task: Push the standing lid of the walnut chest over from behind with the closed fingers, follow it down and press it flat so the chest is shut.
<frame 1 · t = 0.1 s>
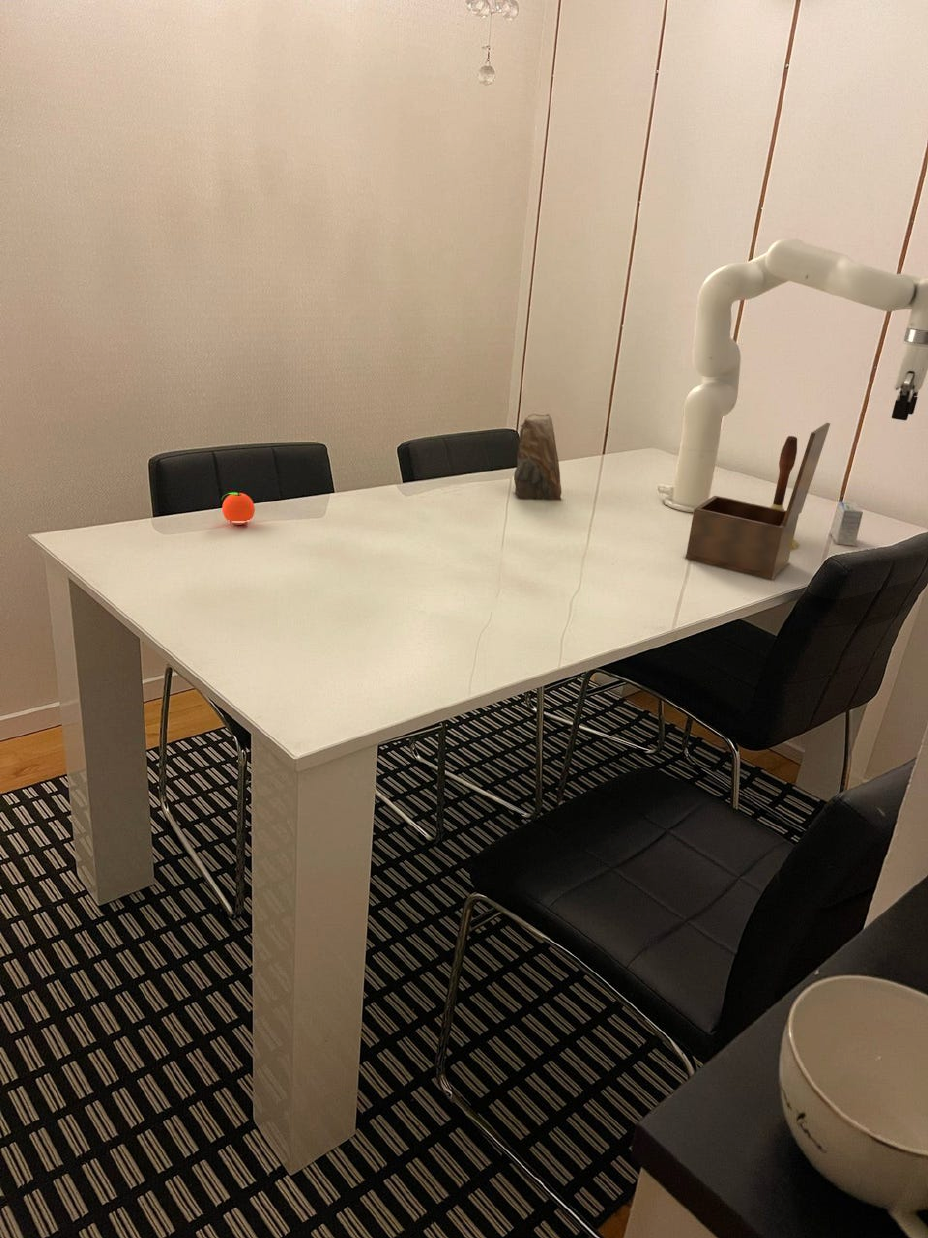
hand: (902, 416, 212), 31 cm above the table, tool pointing down, fingers open, 9 cm apart
chest: (737, 560, 207), on the table
brown rock: (536, 495, 244), on the table
medicine box: (842, 541, 227), on the table
clementine: (237, 524, 206), on the table
handbell: (769, 541, 222), on the table
lid: (806, 474, 194), point 22 cm above the table, hinge at 95.0°
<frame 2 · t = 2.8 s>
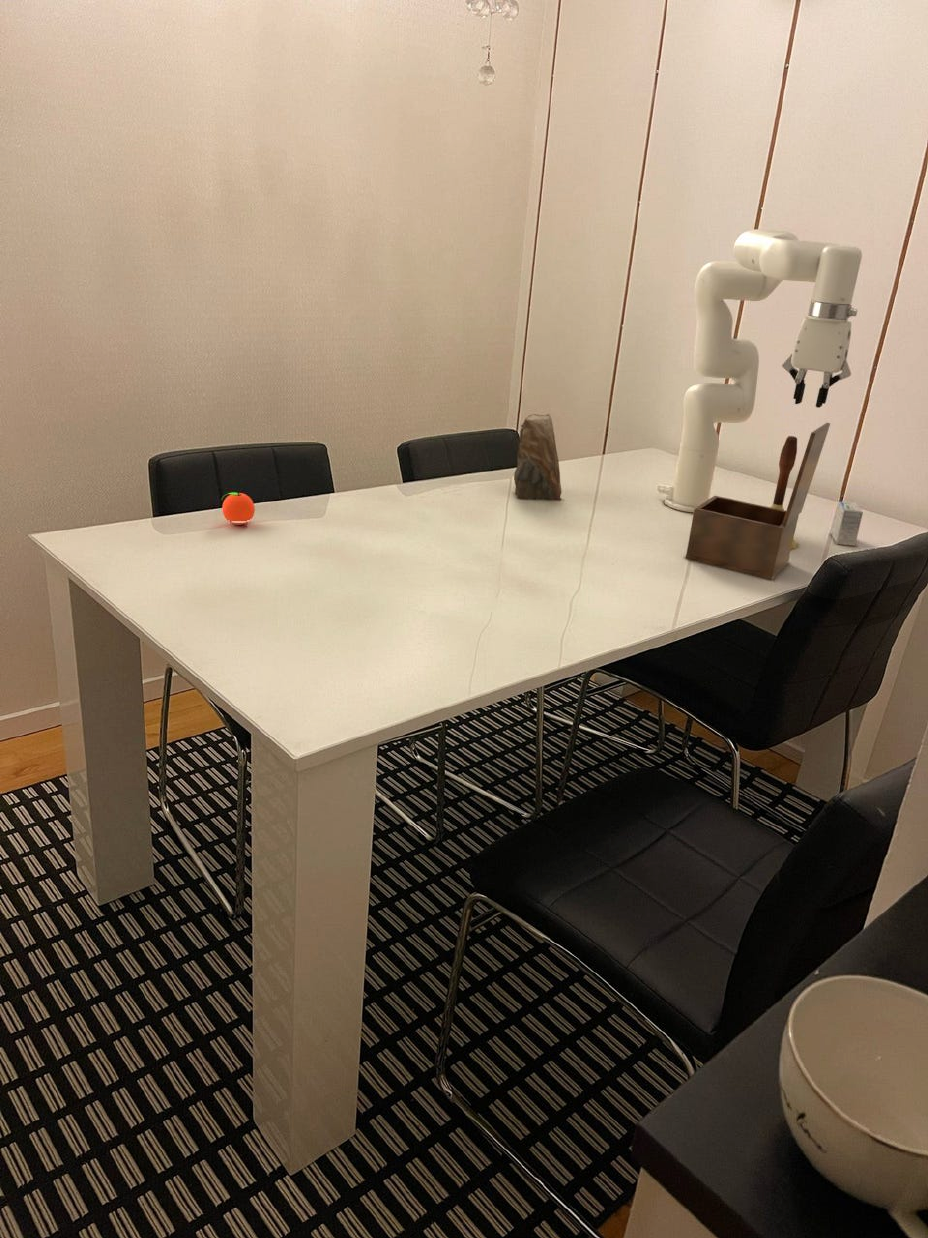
hand: (808, 404, 193), 35 cm above the table, tool pointing down, fingers open, 3 cm apart
nothing on the table moved.
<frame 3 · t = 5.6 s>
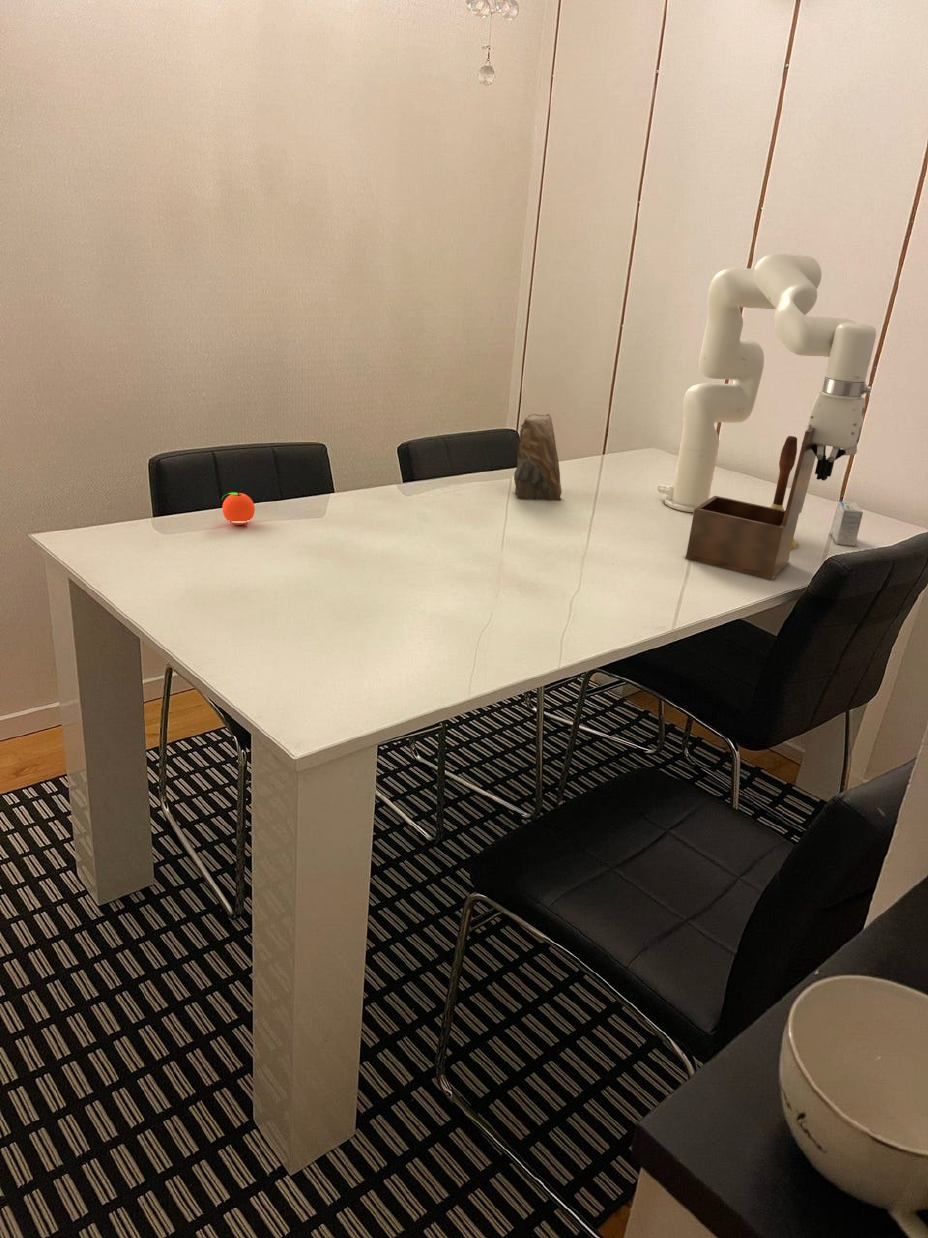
hand: (821, 478, 192), 22 cm above the table, tool pointing down, fingers closed
lid: (803, 473, 194), point 22 cm above the table, hinge at 91.6°
everything else where it was.
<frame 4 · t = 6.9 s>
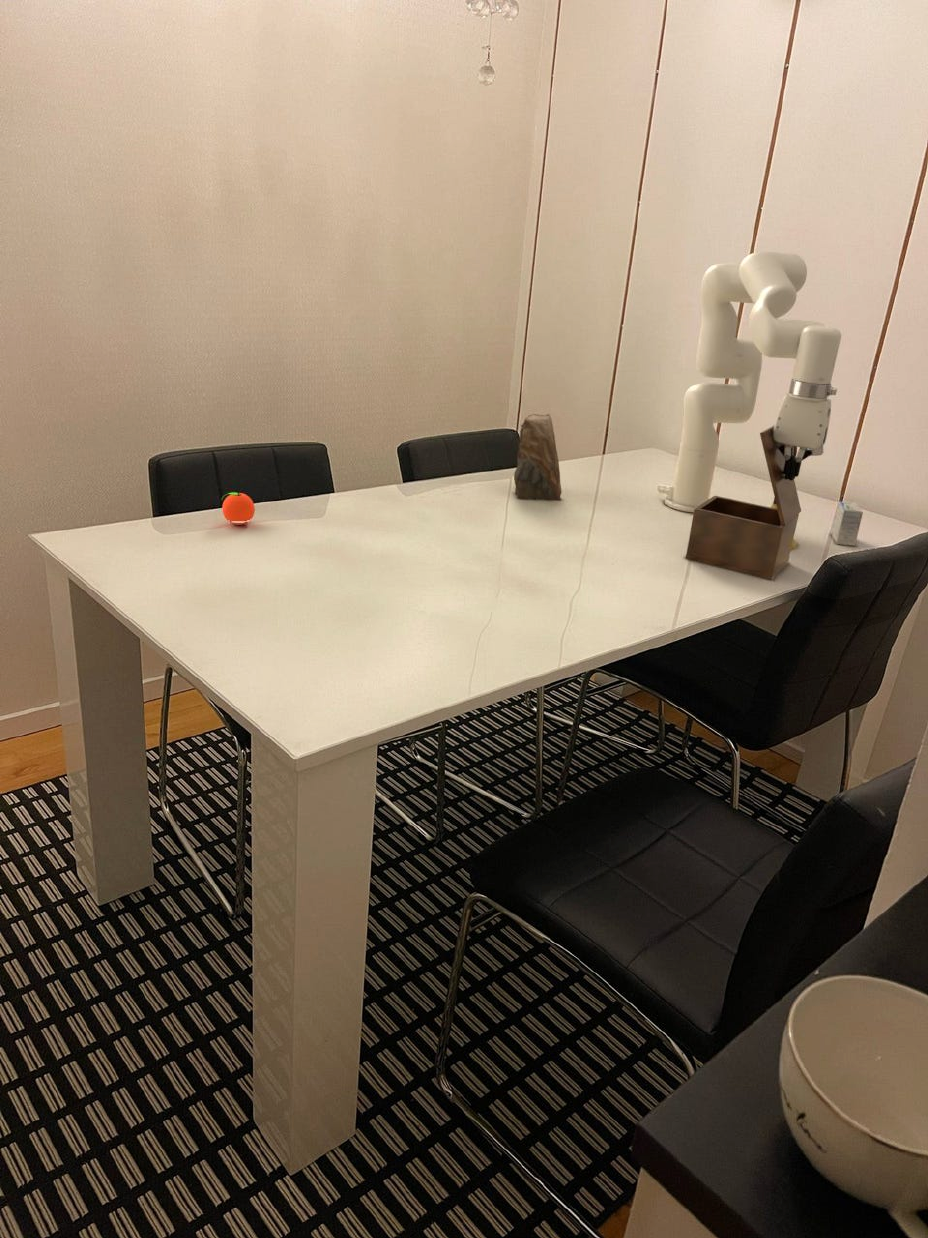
hand: (789, 478, 196), 20 cm above the table, tool pointing down, fingers closed
lid: (781, 473, 196), point 21 cm above the table, hinge at 65.5°, touching gripper
everything else where it was.
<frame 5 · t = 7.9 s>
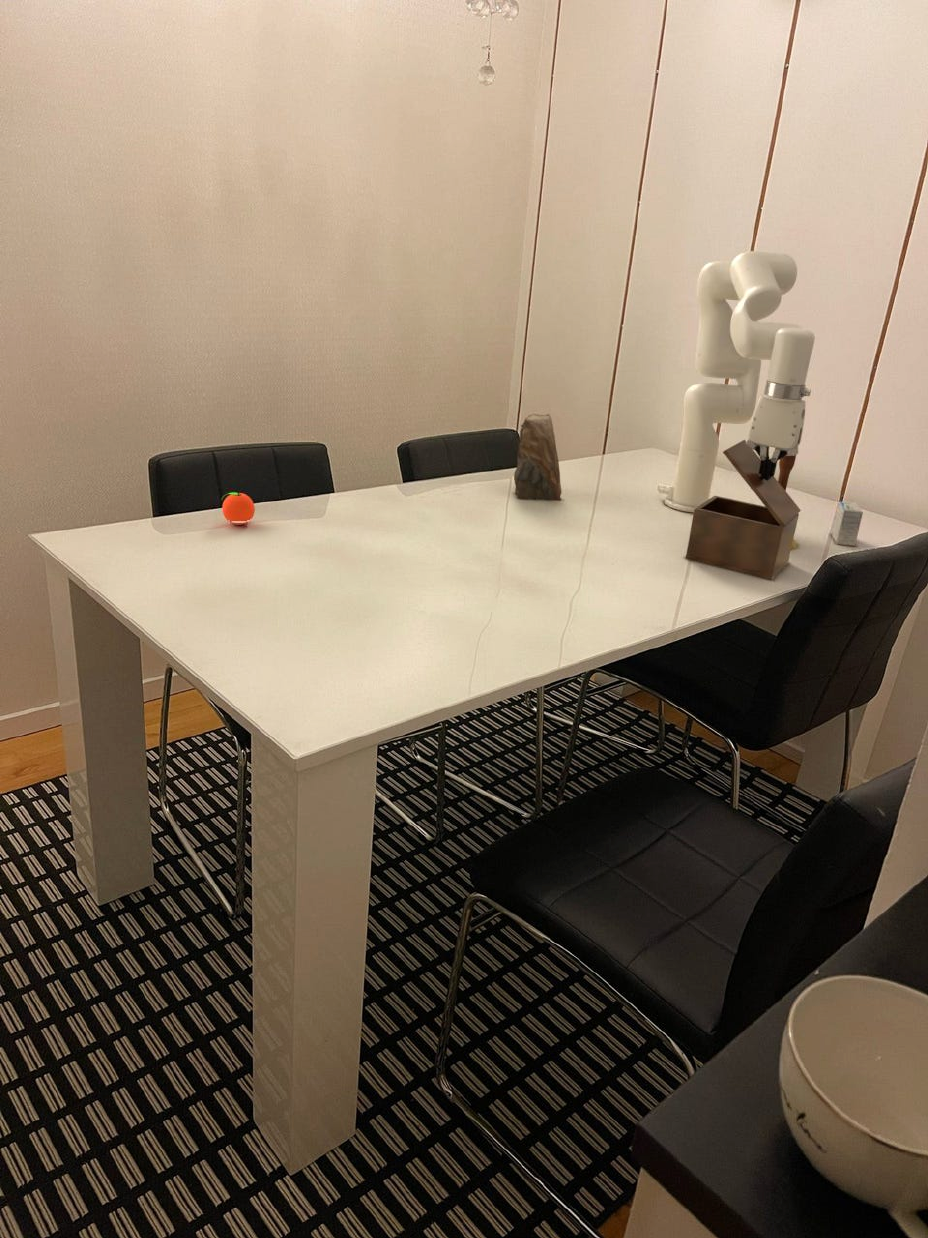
hand: (765, 478, 199), 19 cm above the table, tool pointing down, fingers closed
lid: (762, 482, 199), point 18 cm above the table, hinge at 40.6°, touching gripper
everything else where it was.
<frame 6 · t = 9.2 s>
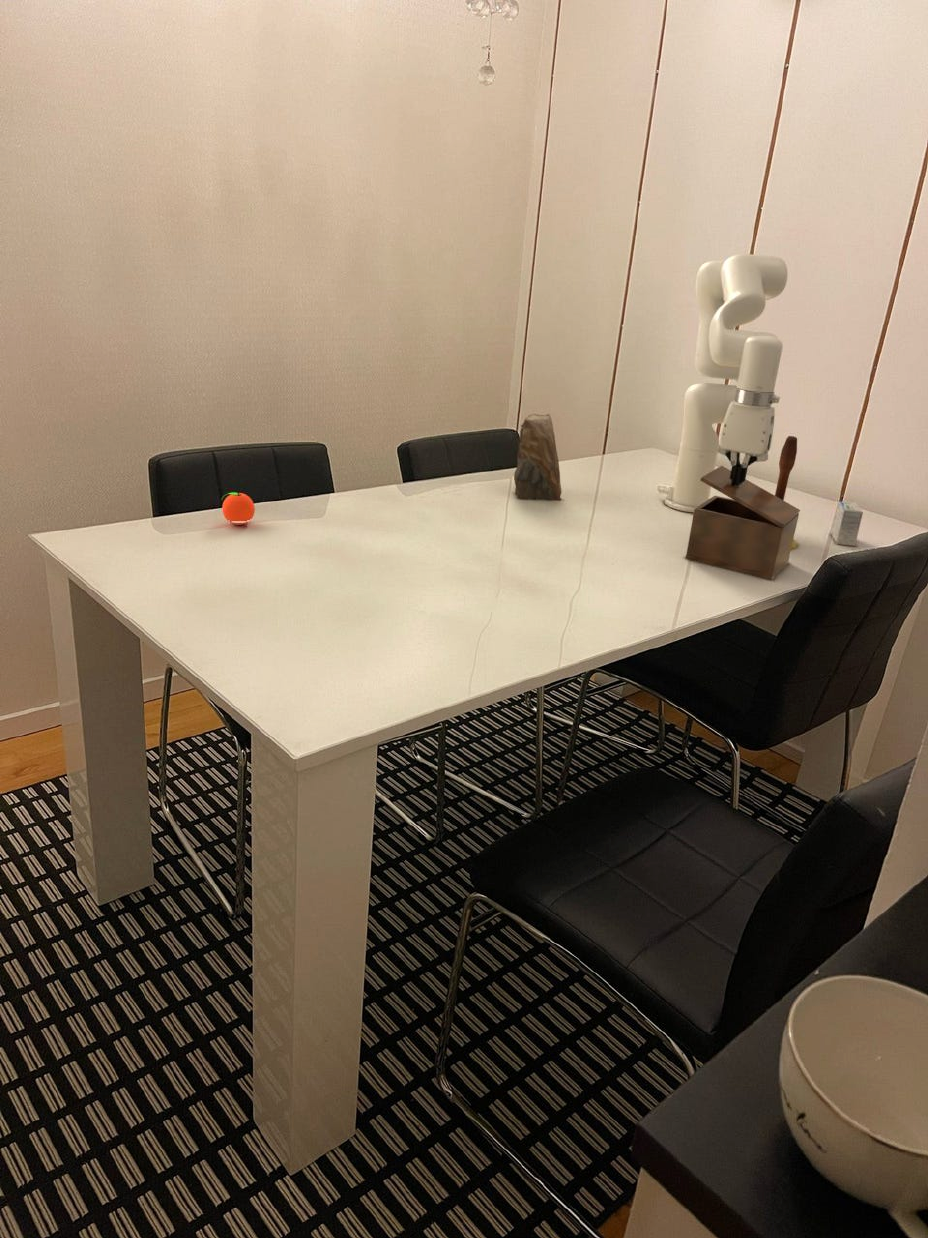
hand: (736, 483, 202), 17 cm above the table, tool pointing down, fingers closed
lid: (750, 495, 201), point 15 cm above the table, hinge at 18.2°
everything else where it was.
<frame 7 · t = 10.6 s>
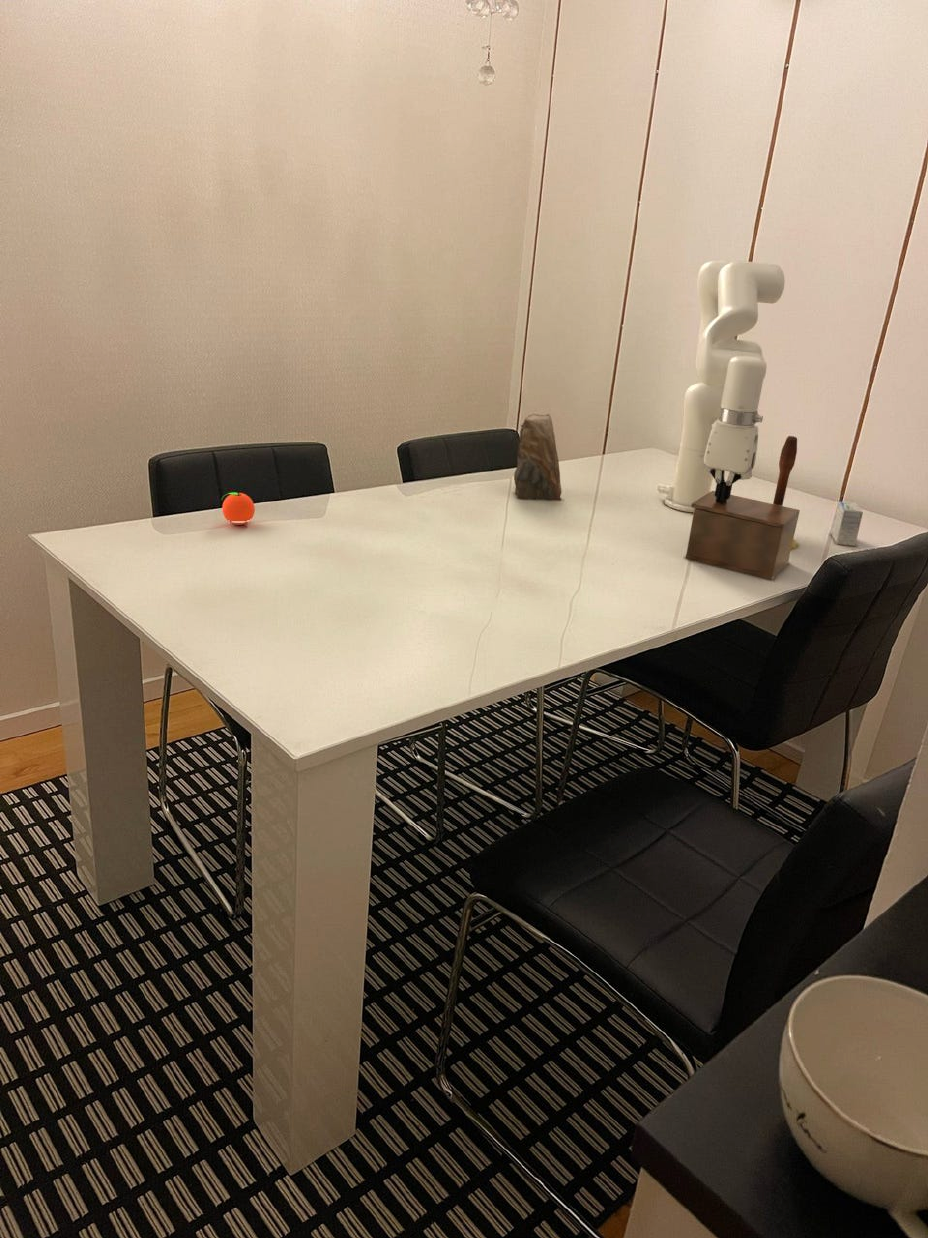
hand: (721, 500, 205), 13 cm above the table, tool pointing down, fingers closed
lid: (745, 508, 203), point 12 cm above the table, hinge at 0.4°, touching gripper
everything else where it was.
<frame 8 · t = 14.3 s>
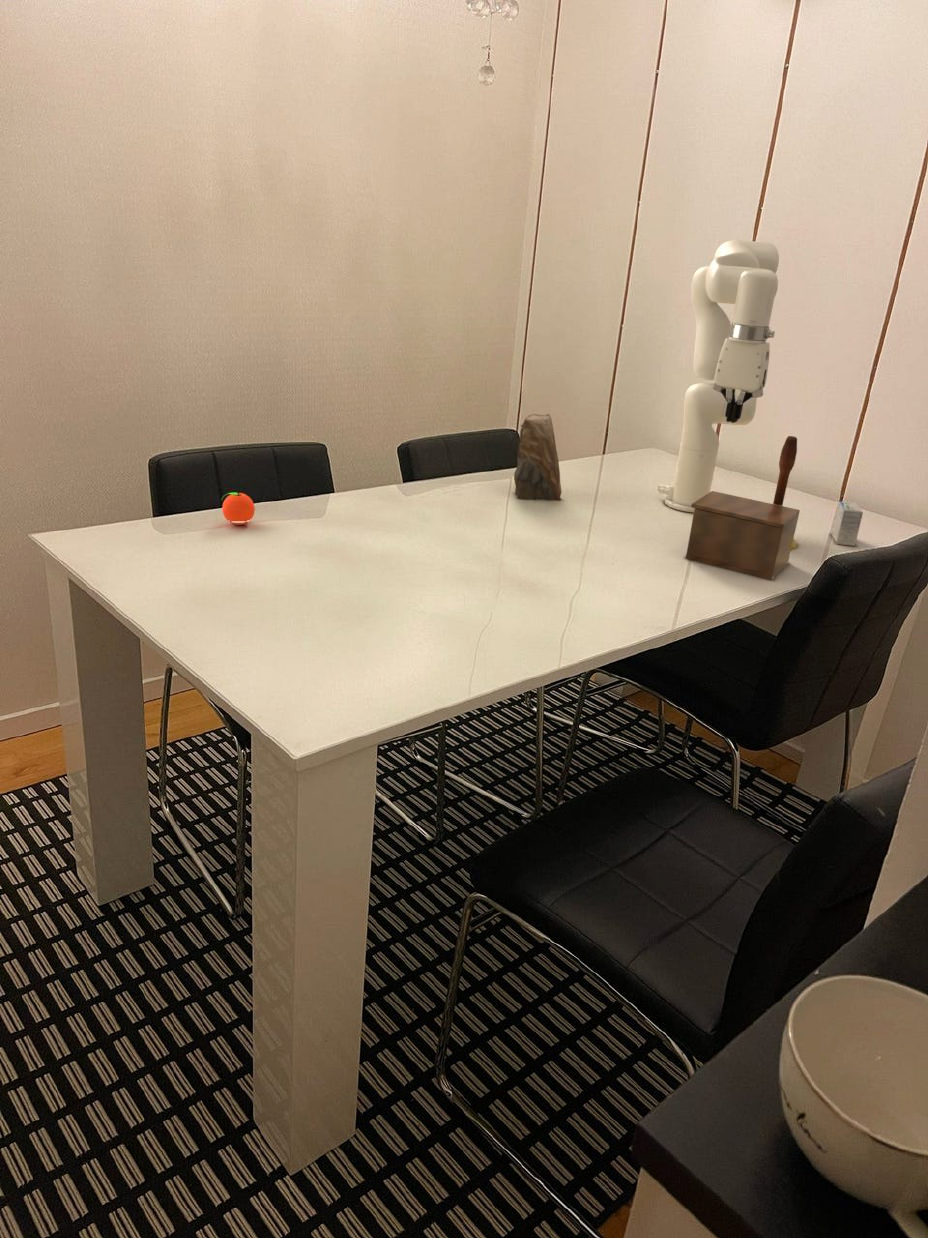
hand: (731, 421, 202), 29 cm above the table, tool pointing down, fingers closed
lid: (745, 508, 203), point 12 cm above the table, hinge at 0.2°
everything else where it was.
at the end: lid at +0° (first picture: +95°) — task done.
